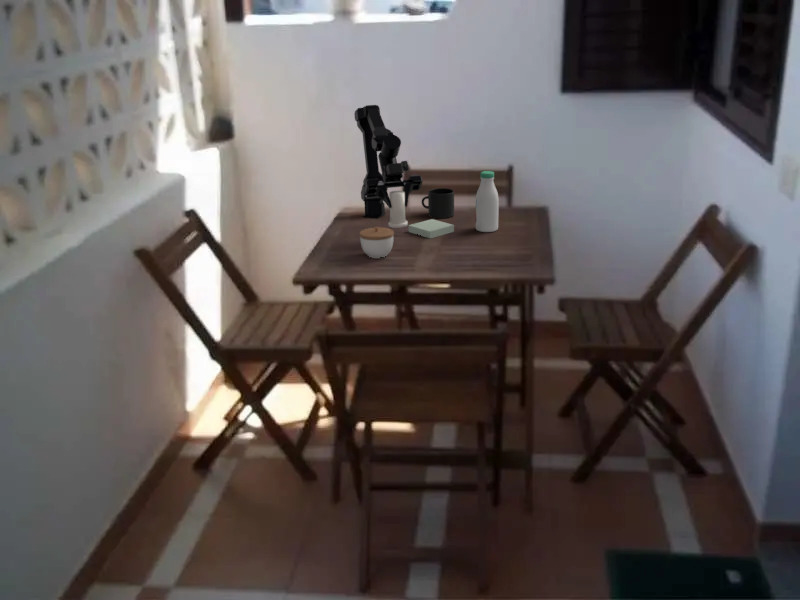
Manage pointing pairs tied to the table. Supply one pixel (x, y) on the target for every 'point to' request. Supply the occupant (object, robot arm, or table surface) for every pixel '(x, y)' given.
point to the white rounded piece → (397, 210)
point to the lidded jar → (377, 241)
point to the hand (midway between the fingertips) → (398, 206)
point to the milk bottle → (487, 204)
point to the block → (431, 228)
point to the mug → (440, 202)
